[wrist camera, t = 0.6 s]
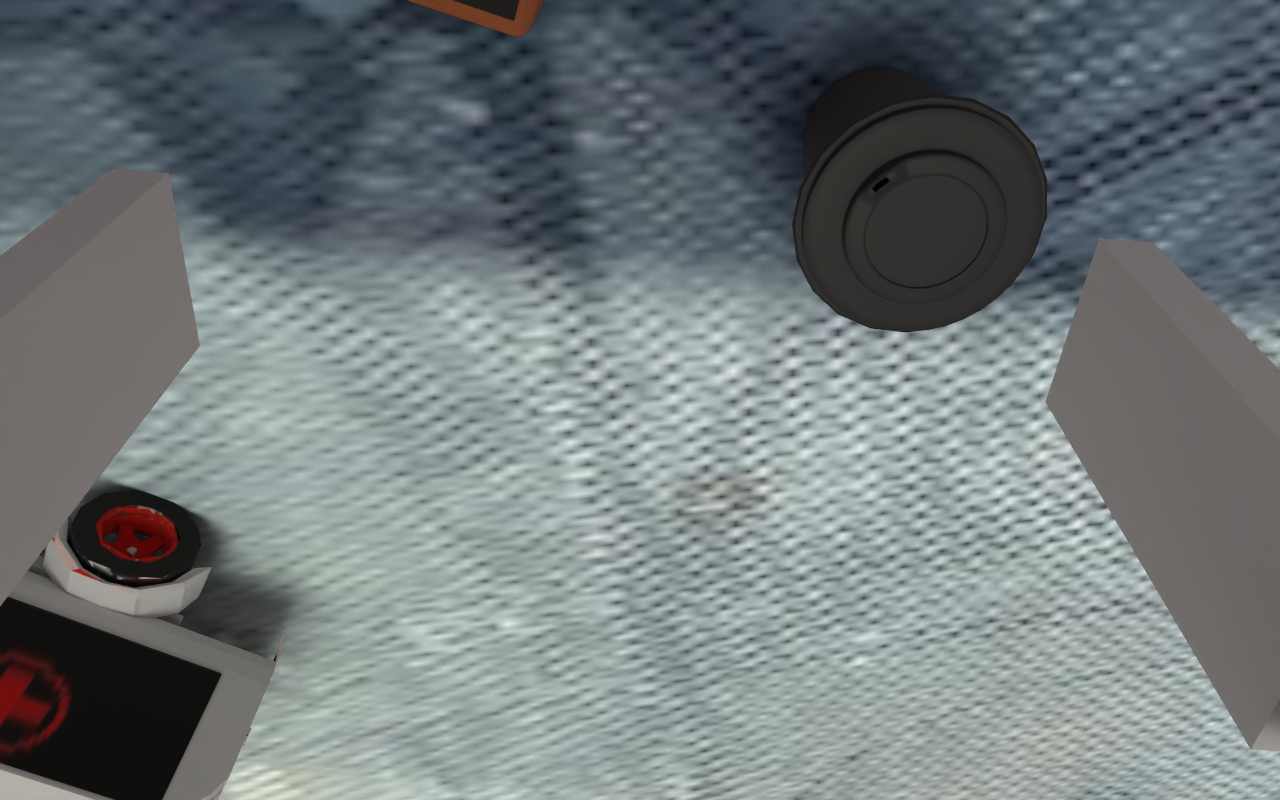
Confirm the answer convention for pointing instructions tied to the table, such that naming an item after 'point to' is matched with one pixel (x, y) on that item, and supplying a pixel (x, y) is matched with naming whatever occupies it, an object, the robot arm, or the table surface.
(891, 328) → the coffee cup
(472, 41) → the table surface
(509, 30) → the battery
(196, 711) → the model vehicle
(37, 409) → the robot arm
